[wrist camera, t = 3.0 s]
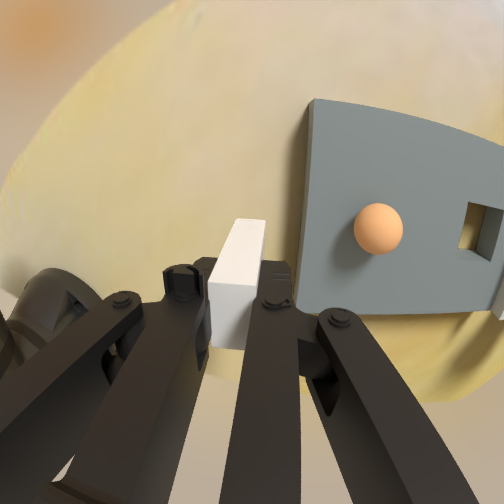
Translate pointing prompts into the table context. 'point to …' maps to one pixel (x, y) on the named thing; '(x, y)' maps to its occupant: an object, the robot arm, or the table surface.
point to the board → (408, 208)
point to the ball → (378, 229)
